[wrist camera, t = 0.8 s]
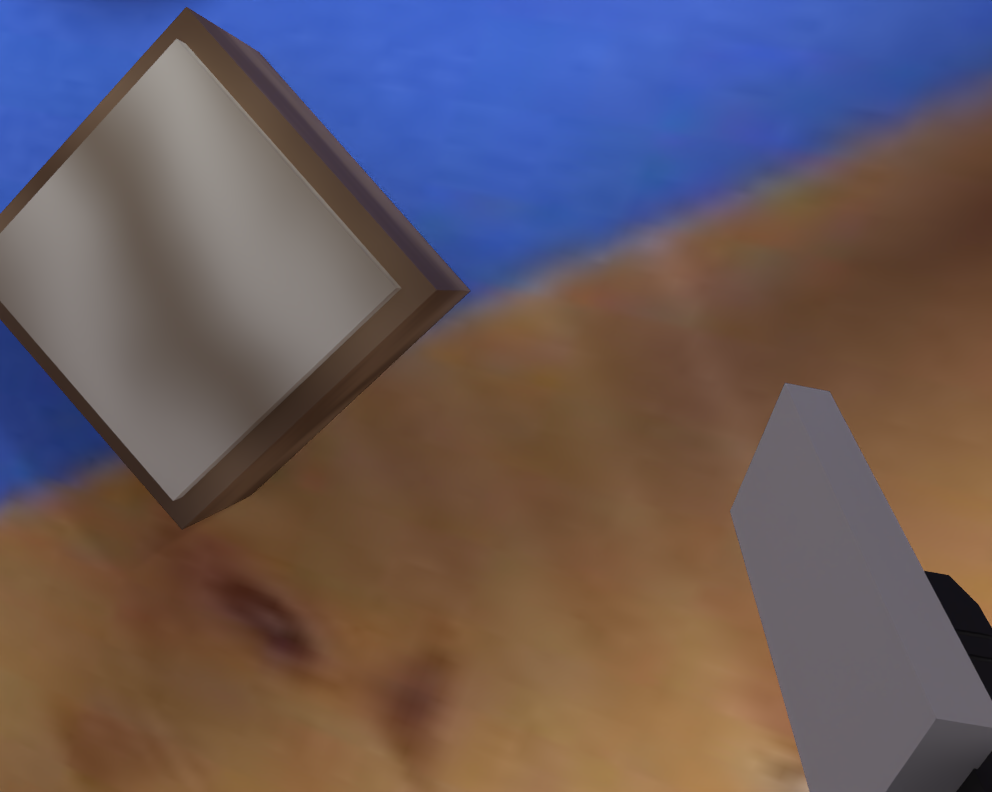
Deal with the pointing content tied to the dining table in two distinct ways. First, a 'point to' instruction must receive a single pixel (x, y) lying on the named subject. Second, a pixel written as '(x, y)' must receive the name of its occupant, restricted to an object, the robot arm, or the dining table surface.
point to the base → (211, 271)
